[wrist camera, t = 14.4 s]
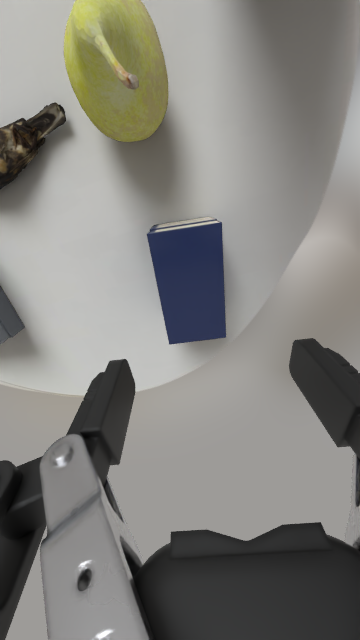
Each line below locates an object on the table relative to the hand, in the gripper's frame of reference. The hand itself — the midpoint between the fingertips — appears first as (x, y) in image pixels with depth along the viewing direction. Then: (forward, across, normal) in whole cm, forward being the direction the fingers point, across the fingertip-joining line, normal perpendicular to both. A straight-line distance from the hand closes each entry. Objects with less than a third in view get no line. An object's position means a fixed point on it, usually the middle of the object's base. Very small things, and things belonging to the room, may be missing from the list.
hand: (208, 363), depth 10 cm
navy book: (+12, 0, 0) cm, 12 cm away
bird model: (+17, +15, -13) cm, 26 cm away
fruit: (+17, +3, -15) cm, 23 cm away
